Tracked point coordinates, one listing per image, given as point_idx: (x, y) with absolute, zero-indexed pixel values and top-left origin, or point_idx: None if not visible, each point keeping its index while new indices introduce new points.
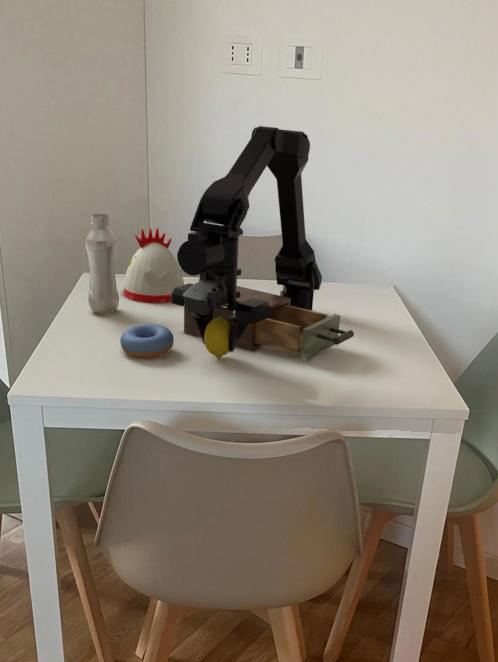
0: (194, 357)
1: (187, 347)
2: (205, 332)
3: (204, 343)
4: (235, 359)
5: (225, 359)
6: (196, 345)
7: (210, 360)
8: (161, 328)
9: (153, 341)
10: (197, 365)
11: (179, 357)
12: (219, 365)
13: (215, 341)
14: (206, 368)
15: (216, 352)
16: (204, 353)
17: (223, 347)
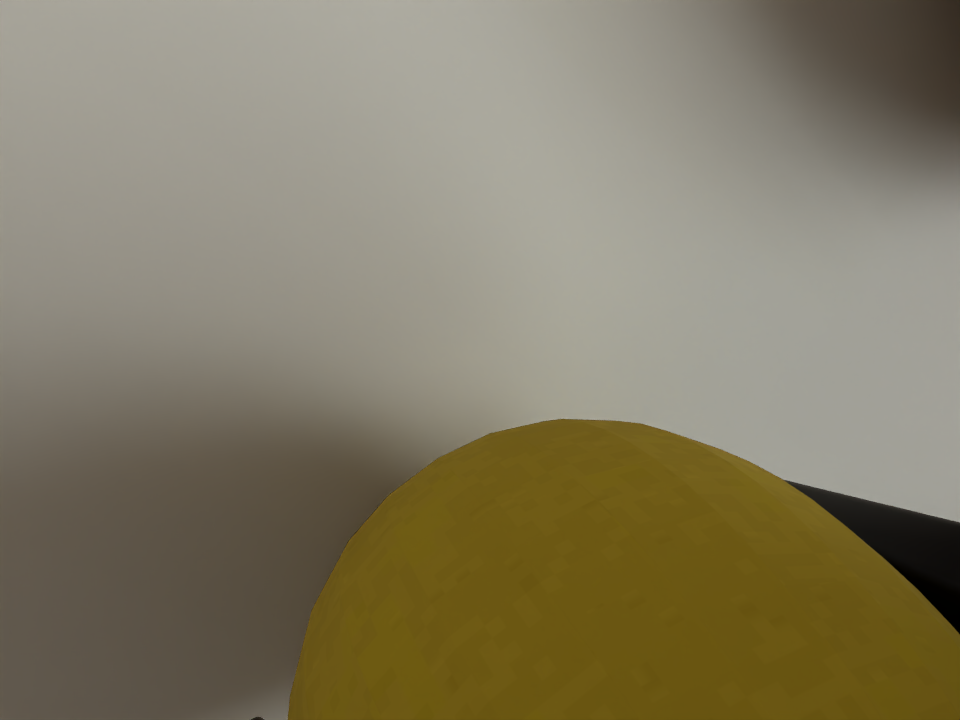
0: (687, 237)
1: (943, 364)
2: (893, 589)
3: None
4: (283, 707)
5: None
6: (908, 487)
7: (459, 376)
8: None
9: None
10: (406, 43)
11: (823, 38)
12: (191, 385)
13: (463, 607)
14: (181, 85)
15: (390, 495)
16: None
17: (310, 671)
